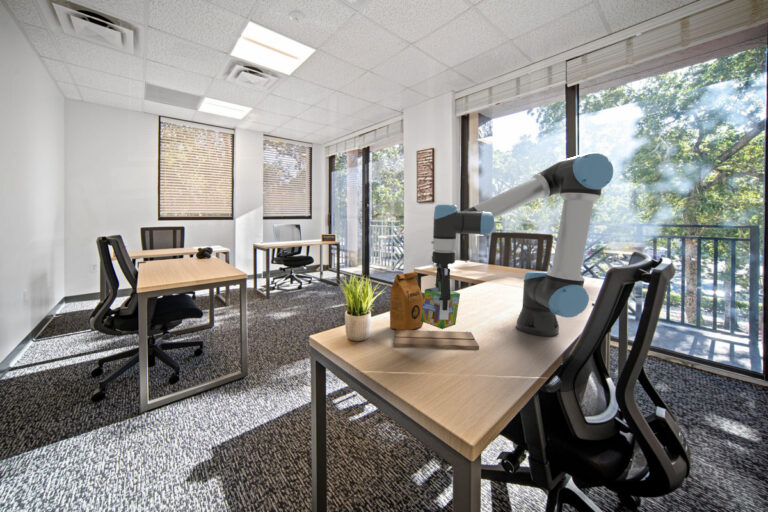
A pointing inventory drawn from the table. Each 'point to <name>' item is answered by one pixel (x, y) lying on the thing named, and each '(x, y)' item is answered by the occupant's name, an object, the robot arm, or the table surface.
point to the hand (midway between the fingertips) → (441, 313)
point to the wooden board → (436, 343)
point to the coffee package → (405, 302)
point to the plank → (434, 334)
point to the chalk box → (433, 308)
